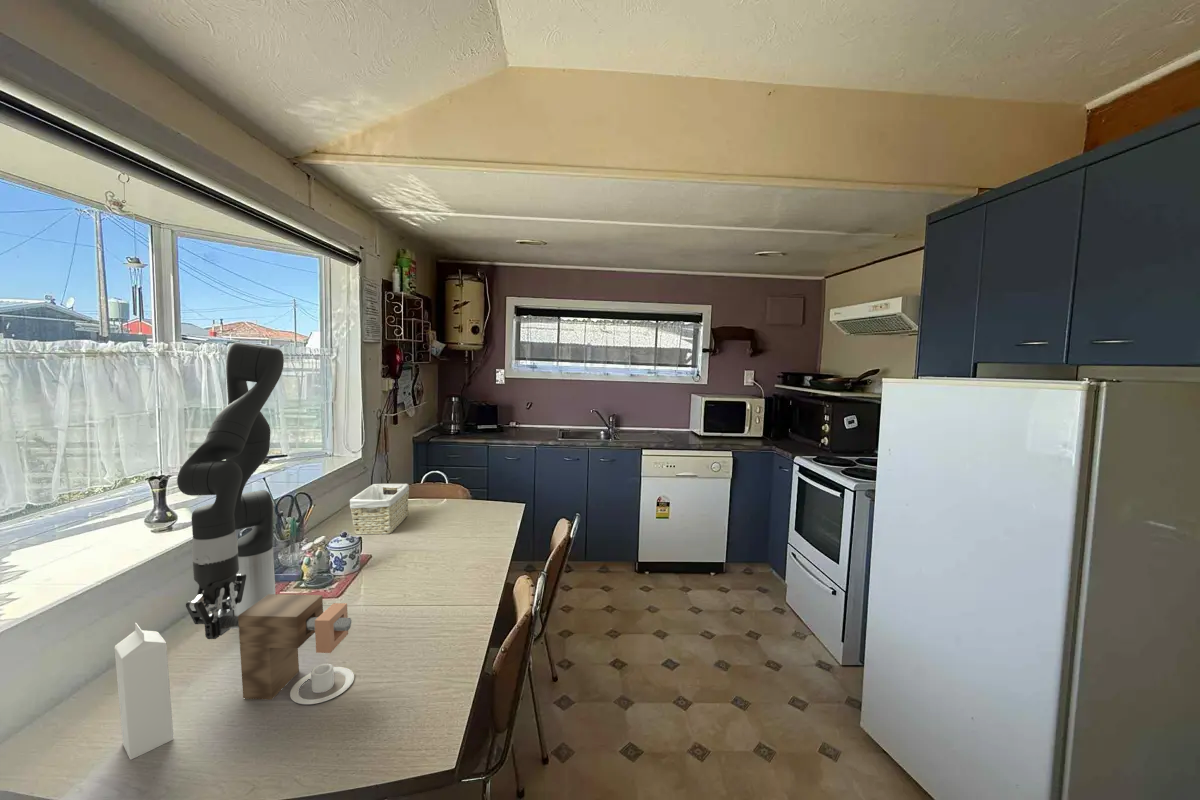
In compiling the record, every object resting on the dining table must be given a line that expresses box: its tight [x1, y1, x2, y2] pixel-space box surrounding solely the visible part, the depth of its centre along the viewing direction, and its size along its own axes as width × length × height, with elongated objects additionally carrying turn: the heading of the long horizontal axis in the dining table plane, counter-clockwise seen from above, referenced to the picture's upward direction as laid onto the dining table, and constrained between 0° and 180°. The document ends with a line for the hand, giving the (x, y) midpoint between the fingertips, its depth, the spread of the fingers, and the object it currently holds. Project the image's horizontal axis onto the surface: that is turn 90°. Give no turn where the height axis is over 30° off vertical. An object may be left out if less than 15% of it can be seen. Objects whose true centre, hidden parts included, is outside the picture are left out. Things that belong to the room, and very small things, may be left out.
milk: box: [114, 622, 174, 761], centre depth 89 cm, size 6×6×22 cm
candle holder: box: [289, 663, 355, 705], centre depth 106 cm, size 12×12×4 cm
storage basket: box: [349, 483, 410, 535], centre depth 203 cm, size 24×16×15 cm
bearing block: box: [238, 593, 324, 701], centre depth 105 cm, size 12×9×18 cm
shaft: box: [209, 609, 352, 637], centre depth 105 cm, size 29×4×4 cm, turn 89°
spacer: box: [314, 602, 349, 654], centre depth 105 cm, size 3×7×7 cm, turn 179°
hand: (220, 632), depth 105 cm, fingers closed on shaft, 3 cm apart
